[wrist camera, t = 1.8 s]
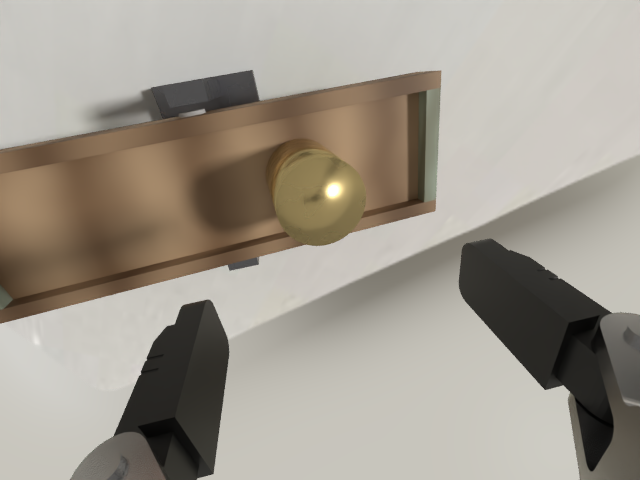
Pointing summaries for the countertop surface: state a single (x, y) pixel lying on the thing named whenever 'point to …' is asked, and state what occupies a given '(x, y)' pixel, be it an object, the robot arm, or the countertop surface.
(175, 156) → the beam
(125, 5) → the countertop surface
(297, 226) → the cylinder
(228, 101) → the pivot stand
